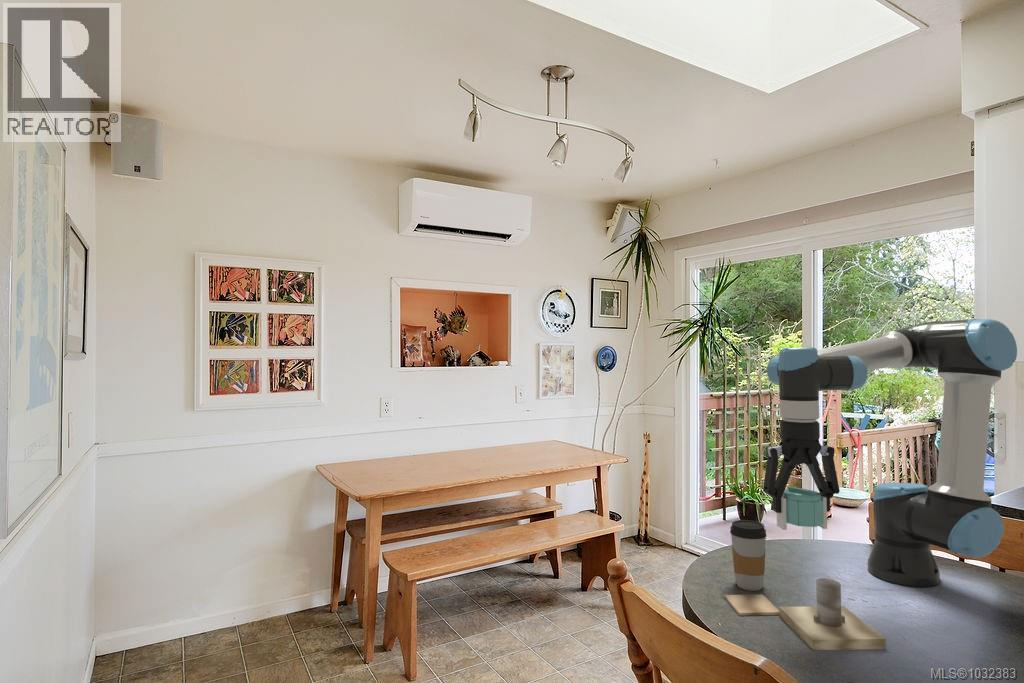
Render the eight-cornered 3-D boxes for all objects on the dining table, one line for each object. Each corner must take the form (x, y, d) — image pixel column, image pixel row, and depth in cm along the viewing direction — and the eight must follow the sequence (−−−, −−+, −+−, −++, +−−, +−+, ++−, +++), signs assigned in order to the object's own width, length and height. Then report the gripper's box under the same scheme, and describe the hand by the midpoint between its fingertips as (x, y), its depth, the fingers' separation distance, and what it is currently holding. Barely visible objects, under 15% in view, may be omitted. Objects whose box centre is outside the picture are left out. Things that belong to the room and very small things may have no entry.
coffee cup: (771, 593, 134) (770, 530, 135) (734, 591, 136) (733, 528, 136) (763, 579, 143) (762, 520, 143) (728, 577, 144) (727, 518, 144)
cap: (829, 522, 119) (828, 490, 119) (808, 528, 115) (807, 495, 115) (795, 514, 125) (795, 483, 125) (775, 519, 121) (774, 488, 121)
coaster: (762, 597, 133) (762, 594, 133) (780, 614, 124) (780, 612, 124) (724, 597, 133) (724, 595, 133) (739, 615, 124) (739, 612, 124)
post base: (844, 615, 123) (842, 569, 123) (885, 649, 109) (884, 597, 109) (779, 616, 123) (778, 569, 124) (813, 650, 109) (811, 598, 110)
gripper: (836, 416, 125) (839, 520, 124) (743, 418, 124) (745, 523, 124) (858, 421, 117) (861, 531, 117) (759, 422, 117) (761, 534, 116)
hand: (801, 527), depth 120 cm, fingers closed on cap, 8 cm apart
